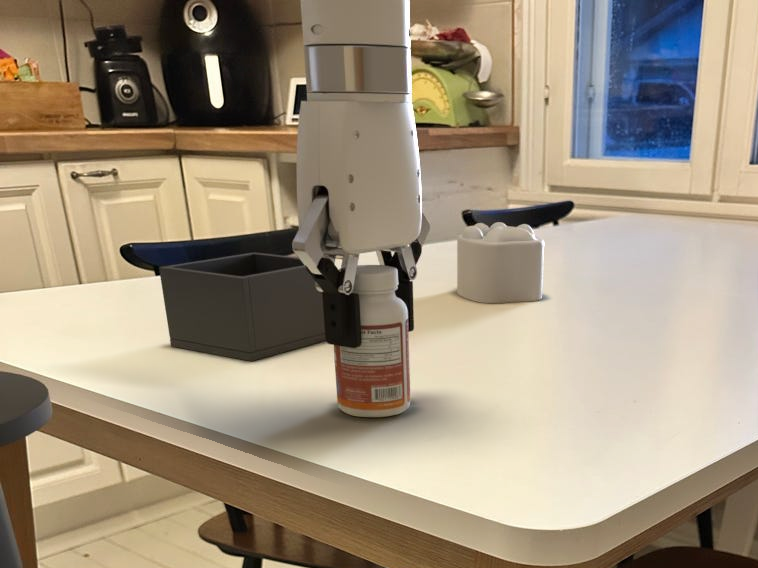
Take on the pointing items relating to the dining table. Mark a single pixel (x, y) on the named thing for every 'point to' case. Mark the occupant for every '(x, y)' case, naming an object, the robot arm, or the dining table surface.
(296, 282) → the basket
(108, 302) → the dining table surface
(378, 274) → the pill bottle
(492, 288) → the lumpy-topped squat cylinder
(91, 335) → the dining table surface
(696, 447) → the dining table surface
